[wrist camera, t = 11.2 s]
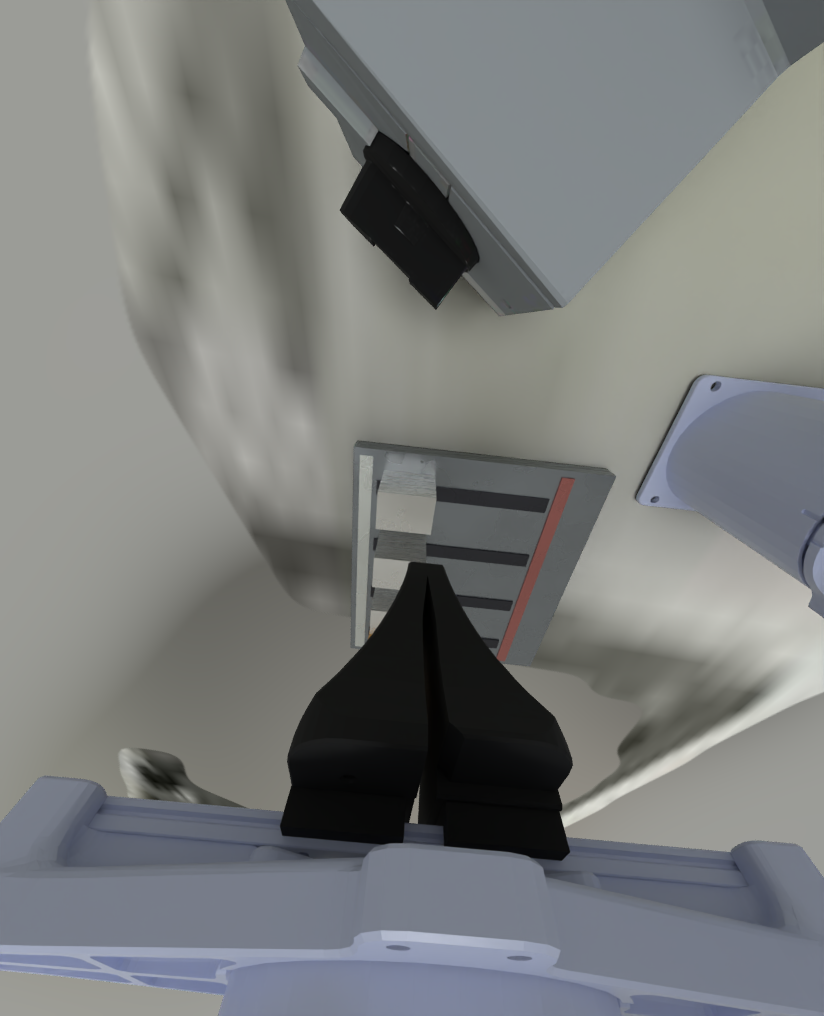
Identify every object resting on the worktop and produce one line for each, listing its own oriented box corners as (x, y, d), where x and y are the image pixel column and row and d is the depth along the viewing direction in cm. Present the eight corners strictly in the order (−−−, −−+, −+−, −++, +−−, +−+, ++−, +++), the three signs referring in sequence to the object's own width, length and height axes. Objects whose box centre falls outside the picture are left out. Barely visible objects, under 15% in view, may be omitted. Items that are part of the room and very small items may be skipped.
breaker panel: (606, 468, 21) (645, 499, 17) (526, 654, 30) (540, 700, 26) (357, 440, 20) (342, 465, 17) (353, 636, 30) (342, 680, 26)
